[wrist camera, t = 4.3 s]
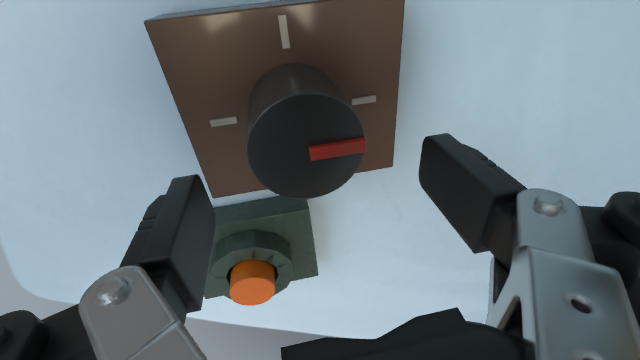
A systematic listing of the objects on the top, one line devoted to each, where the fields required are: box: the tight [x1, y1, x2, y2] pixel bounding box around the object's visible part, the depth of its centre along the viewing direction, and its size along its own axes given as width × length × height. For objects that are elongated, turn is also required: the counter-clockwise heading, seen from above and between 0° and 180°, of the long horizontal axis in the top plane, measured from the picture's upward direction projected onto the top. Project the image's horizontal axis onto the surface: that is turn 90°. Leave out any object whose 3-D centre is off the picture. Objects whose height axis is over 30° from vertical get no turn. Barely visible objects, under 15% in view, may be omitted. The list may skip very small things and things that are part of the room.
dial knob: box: [246, 63, 367, 199], centre depth 14 cm, size 5×5×5 cm
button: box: [229, 259, 275, 305], centre depth 21 cm, size 3×3×2 cm
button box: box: [204, 196, 318, 299], centre depth 23 cm, size 10×8×4 cm
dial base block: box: [144, 0, 405, 198], centre depth 17 cm, size 12×10×3 cm
